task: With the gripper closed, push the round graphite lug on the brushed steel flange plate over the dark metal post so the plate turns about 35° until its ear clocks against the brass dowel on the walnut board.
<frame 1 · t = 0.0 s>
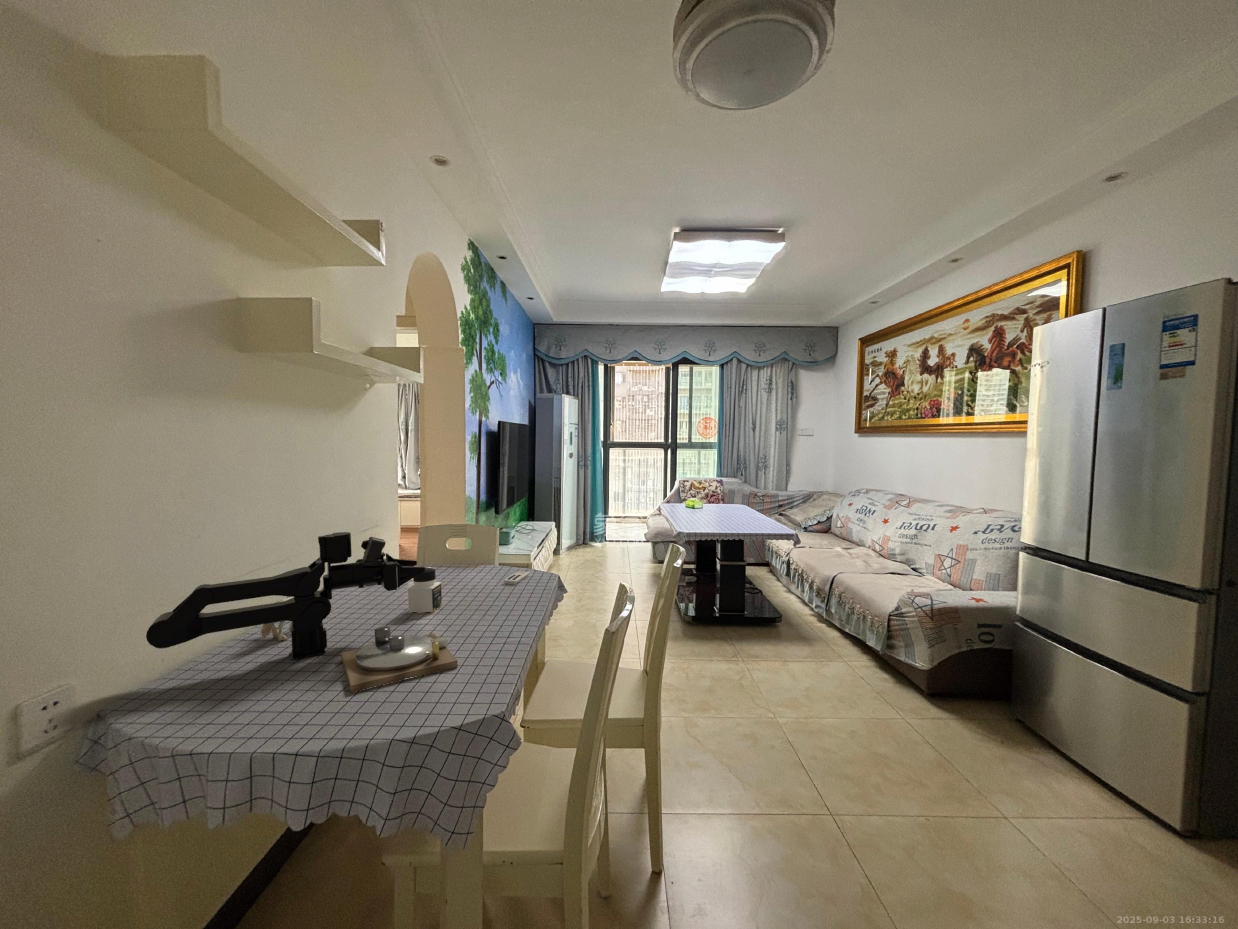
hand: (420, 565, 134), 17 cm above the table, tool horizontal, fingers open, 9 cm apart
medicine bottle: (425, 610, 152), on the table
base board: (398, 663, 114), on the table
unicorn figurine: (282, 634, 135), on the table
dowel: (435, 650, 111), on the base board, point 3 cm above the table
flange plate: (403, 643, 114), point 4 cm above the table, hinge at 0.0°
post: (397, 642, 113), point 4 cm above the table
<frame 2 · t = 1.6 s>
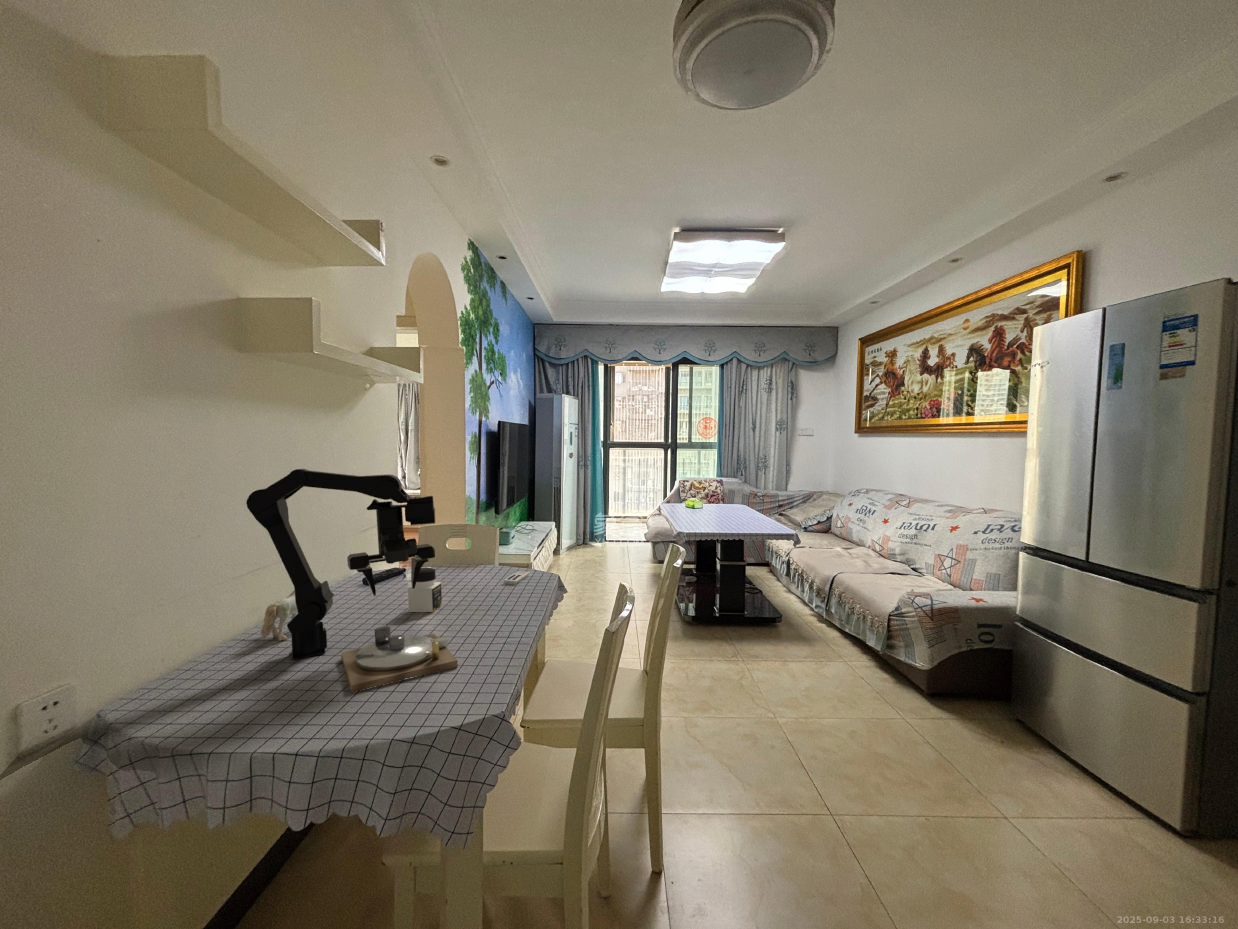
hand: (394, 591, 126), 12 cm above the table, tool pointing down, fingers open, 8 cm apart
nothing on the table moved.
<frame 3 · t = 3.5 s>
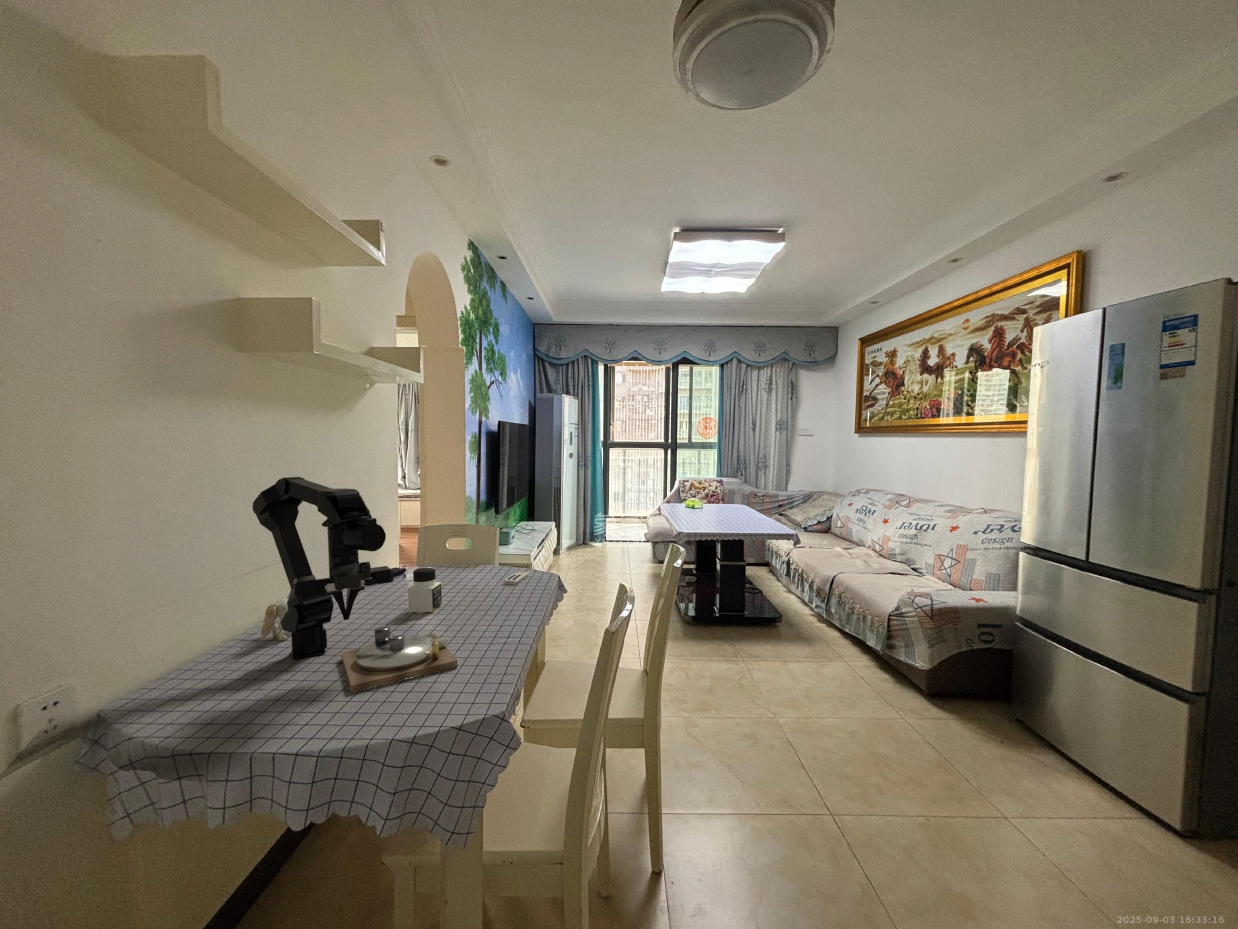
hand: (346, 619, 114), 10 cm above the table, tool pointing down, fingers closed
nothing on the table moved.
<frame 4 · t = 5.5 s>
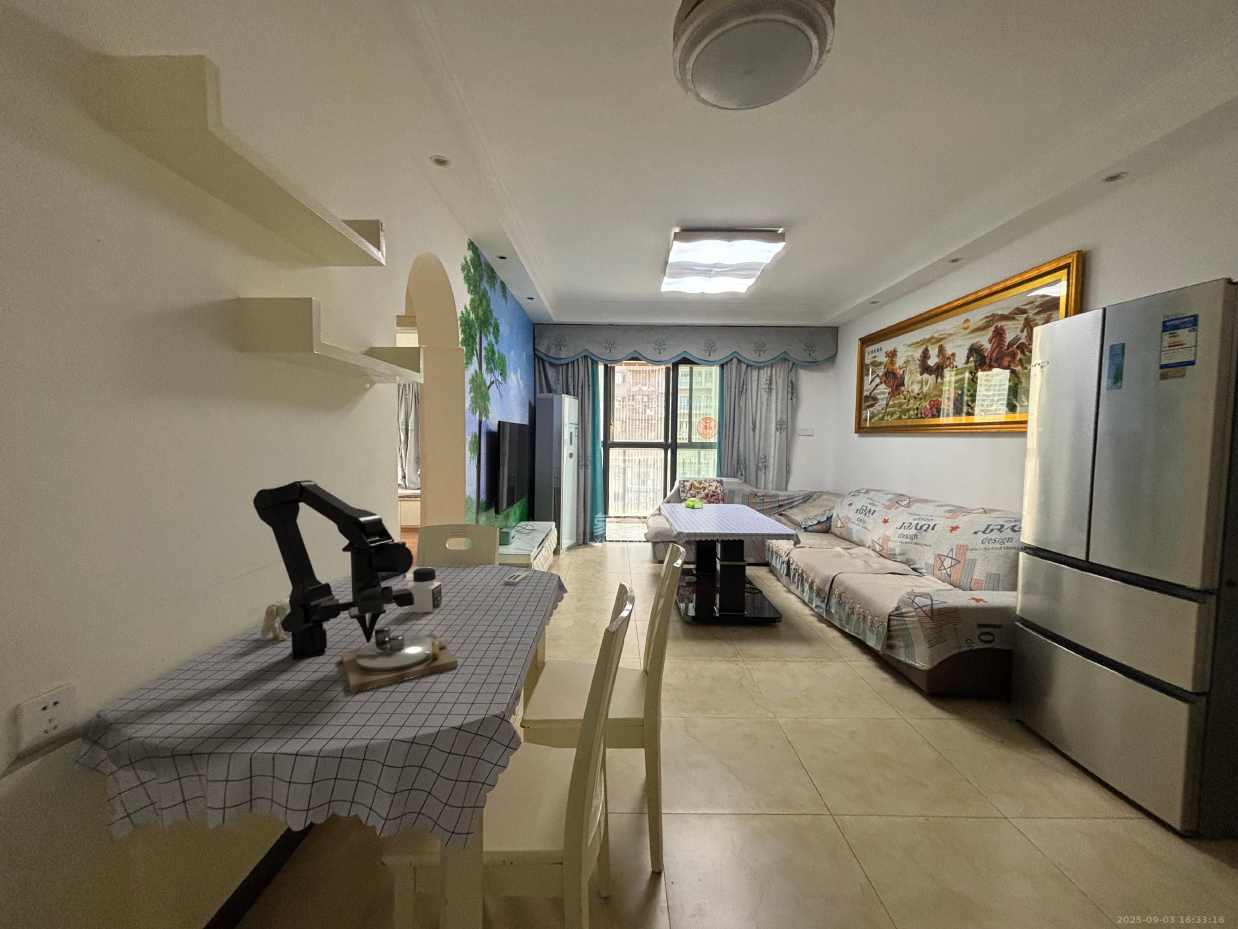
hand: (368, 642, 116), 4 cm above the table, tool pointing down, fingers closed
flange plate: (403, 643, 114), point 4 cm above the table, hinge at -0.2°, touching gripper
everything else where it was.
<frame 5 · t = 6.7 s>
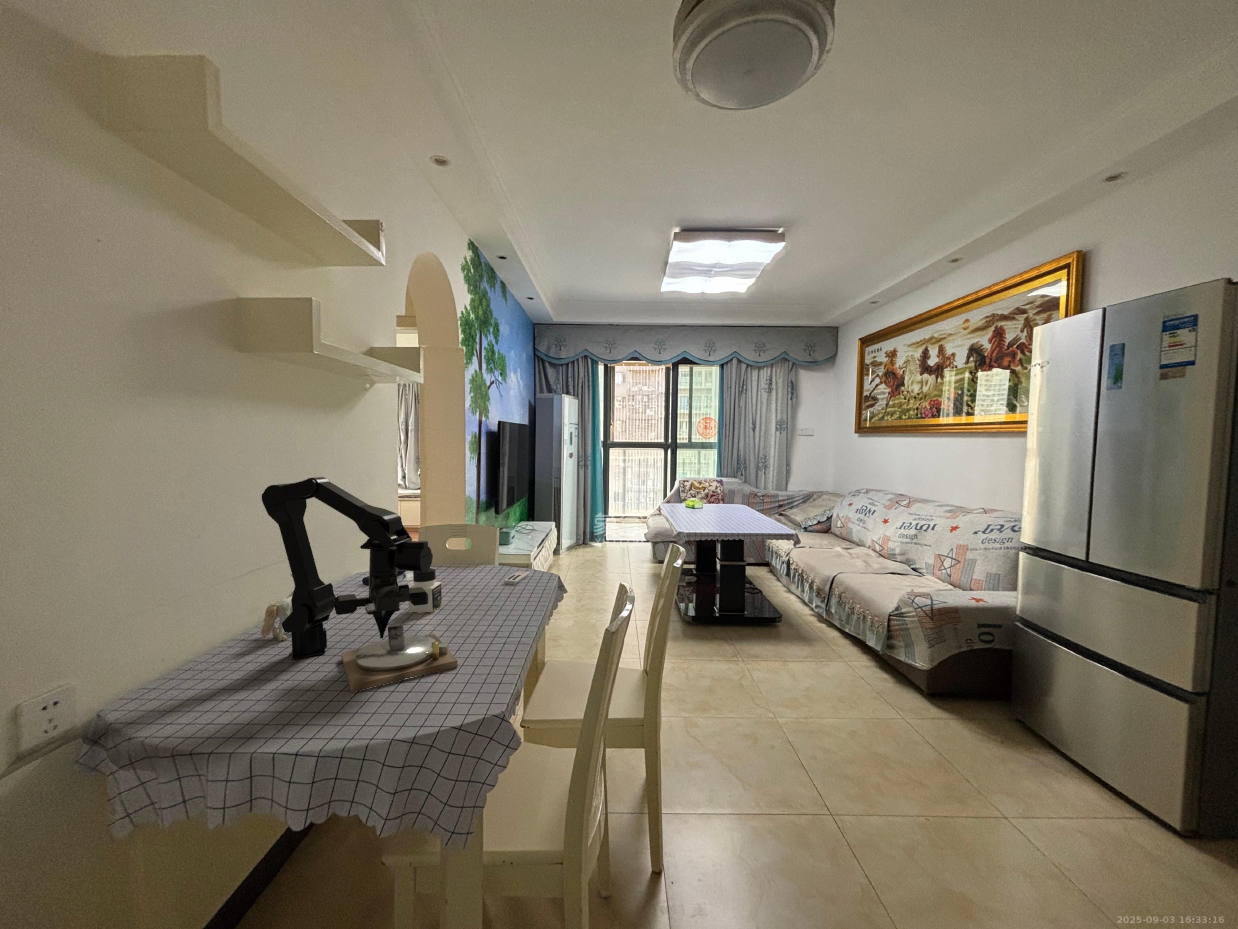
hand: (381, 638, 118), 4 cm above the table, tool pointing down, fingers closed
flange plate: (403, 644, 114), point 4 cm above the table, hinge at -24.8°, touching gripper
everything else where it was.
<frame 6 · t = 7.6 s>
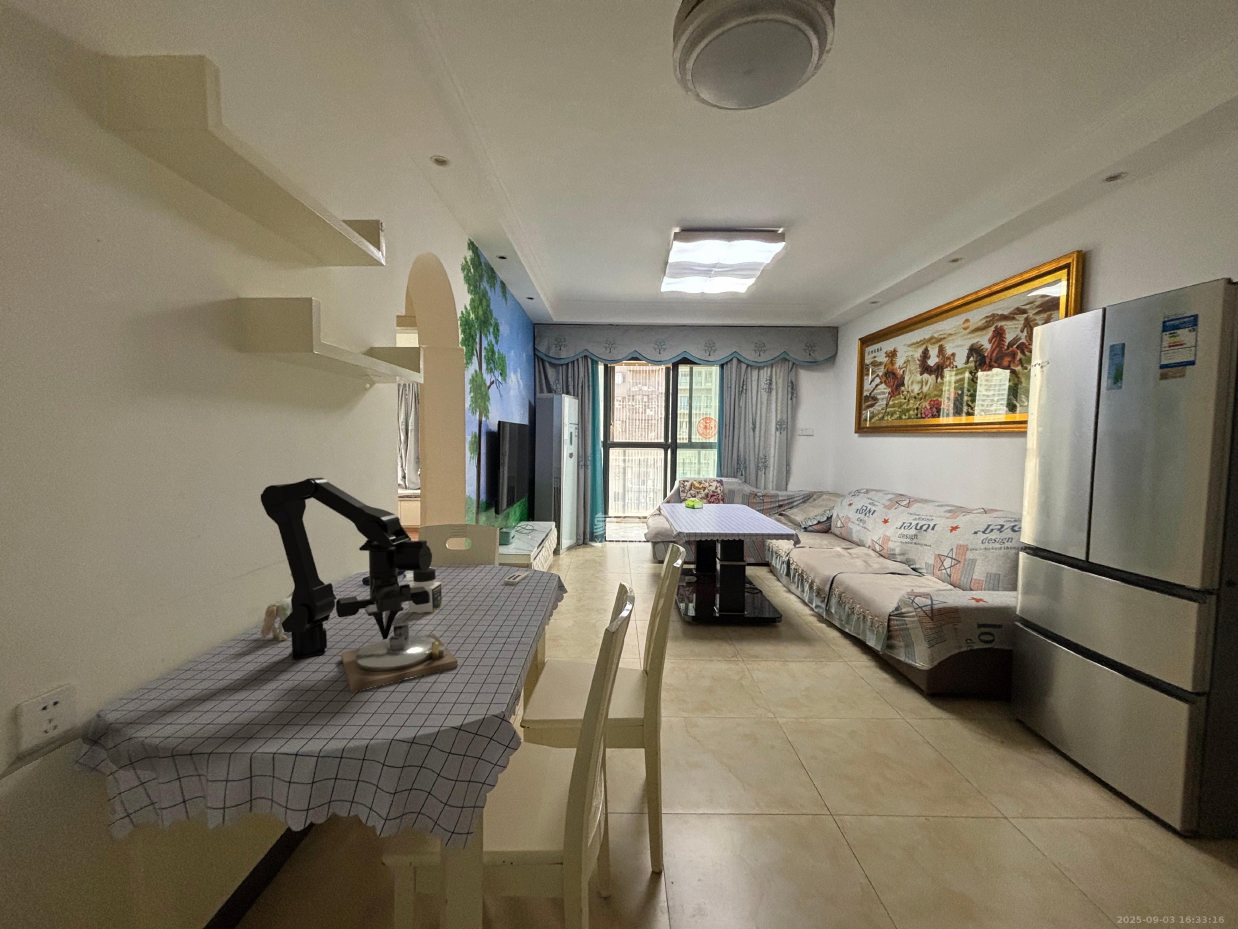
hand: (384, 638, 118), 4 cm above the table, tool pointing down, fingers closed
flange plate: (403, 645, 113), point 4 cm above the table, hinge at -34.9°
everything else where it was.
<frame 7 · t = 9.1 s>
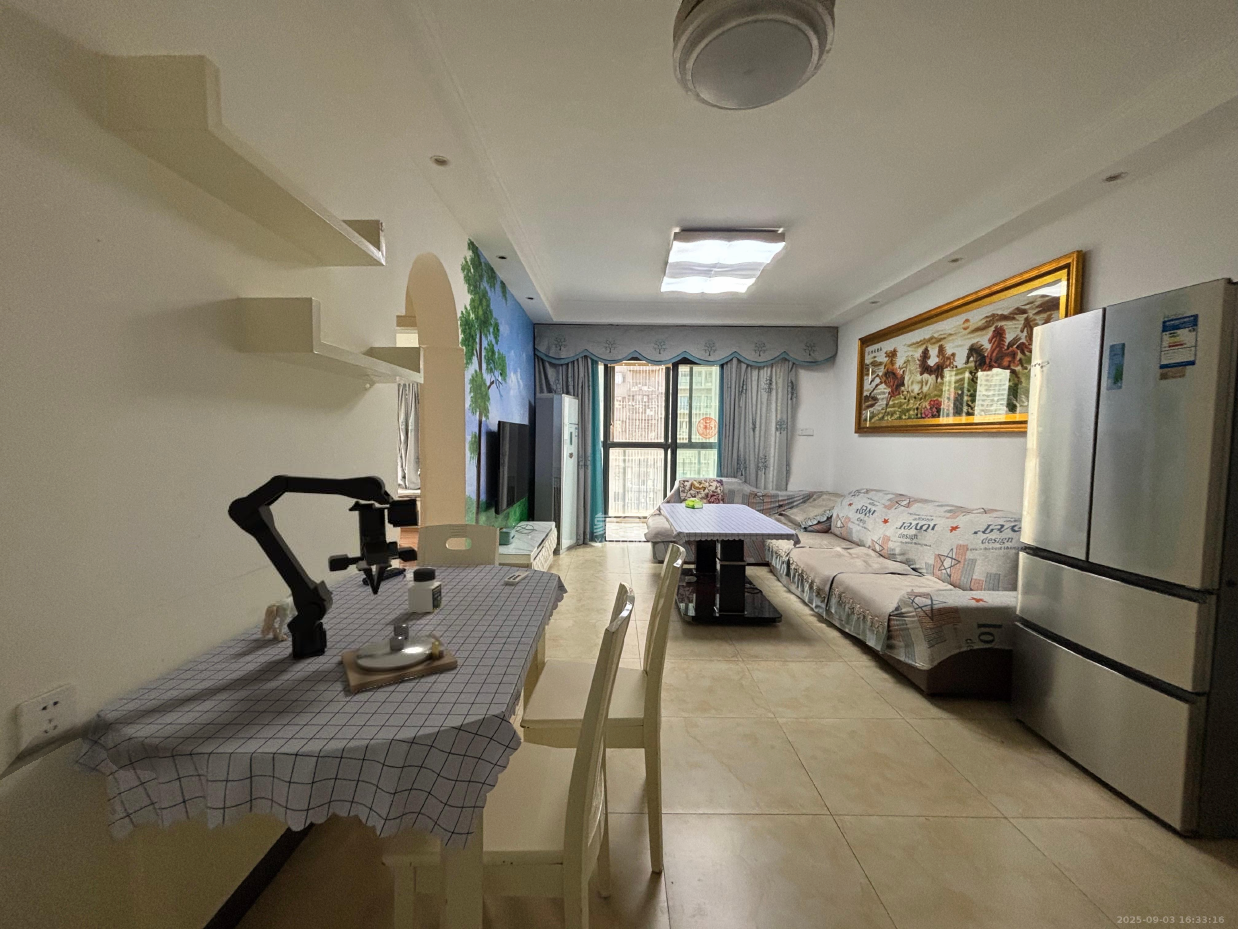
hand: (375, 594, 125), 12 cm above the table, tool pointing down, fingers closed
nothing on the table moved.
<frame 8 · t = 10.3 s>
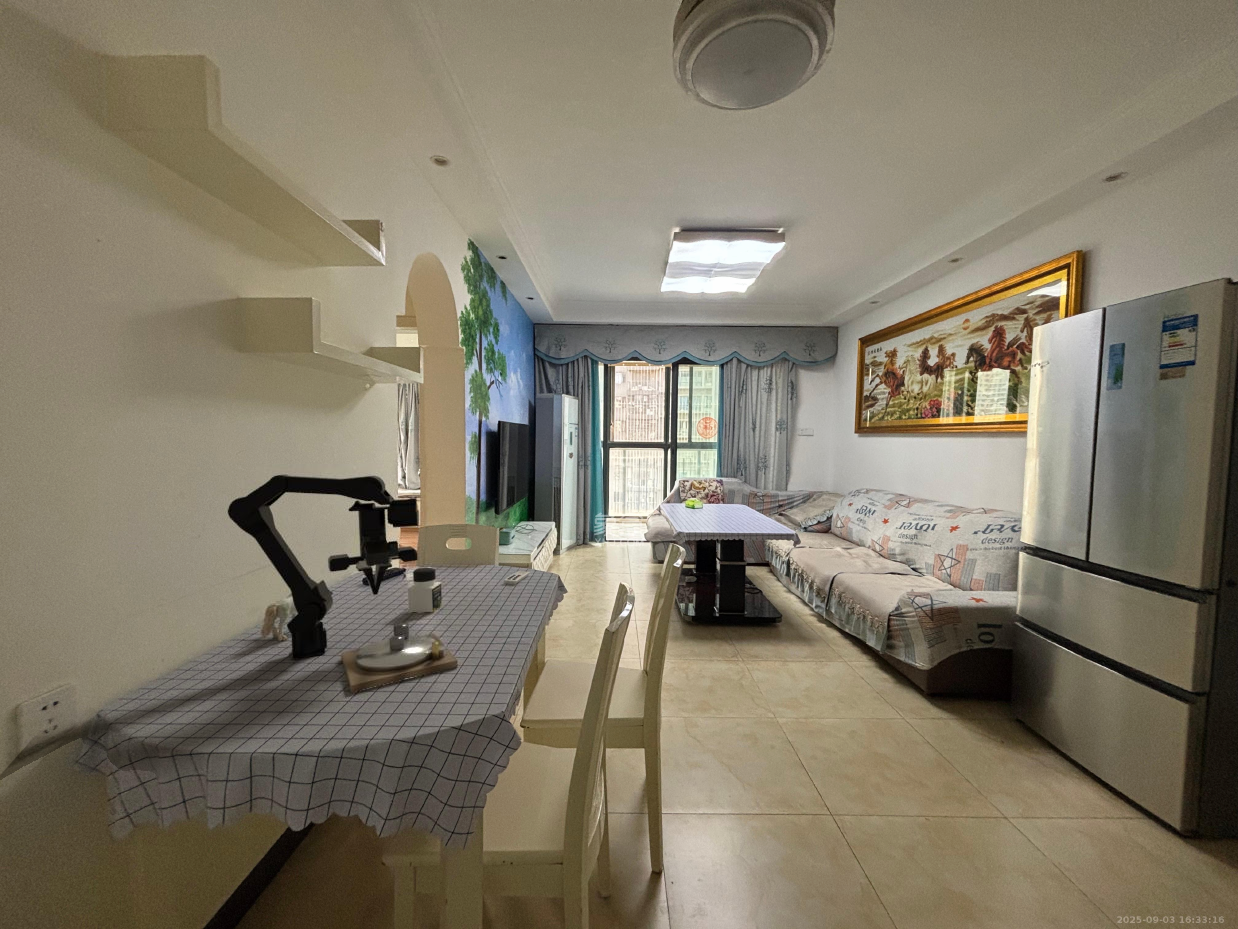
hand: (375, 594, 125), 12 cm above the table, tool pointing down, fingers closed
nothing on the table moved.
at the end: flange plate at -35° (first picture: +0°) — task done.
